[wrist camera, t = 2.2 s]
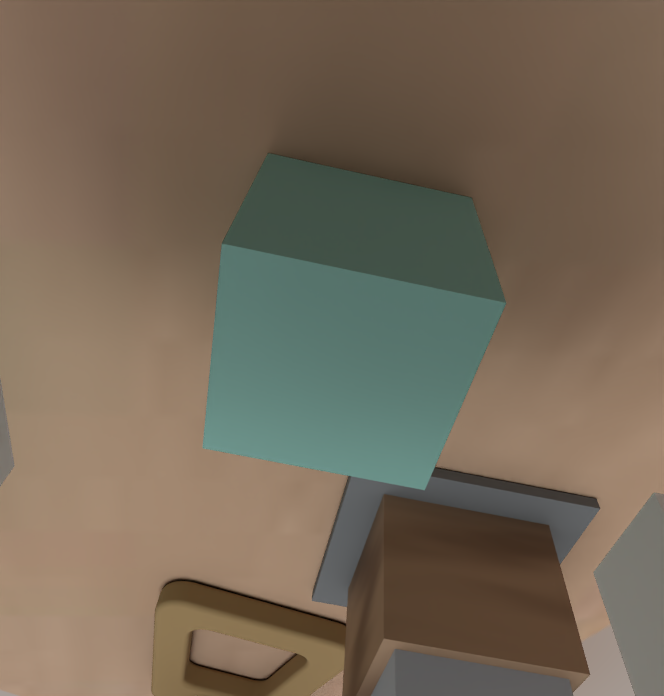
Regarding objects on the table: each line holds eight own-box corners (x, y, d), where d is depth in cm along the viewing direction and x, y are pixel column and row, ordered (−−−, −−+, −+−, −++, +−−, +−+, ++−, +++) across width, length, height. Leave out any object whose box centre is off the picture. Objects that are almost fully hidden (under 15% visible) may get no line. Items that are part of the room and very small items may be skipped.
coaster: (356, 452, 23) (355, 461, 23) (596, 498, 24) (600, 508, 24) (312, 591, 29) (311, 600, 29) (506, 626, 30) (508, 635, 29)
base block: (383, 493, 24) (383, 638, 19) (548, 524, 24) (590, 674, 19) (348, 589, 28) (340, 728, 23) (489, 614, 28) (511, 756, 24)
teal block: (268, 152, 17) (221, 243, 12) (471, 196, 17) (506, 302, 12) (245, 323, 20) (202, 447, 15) (414, 357, 21) (424, 490, 16)
